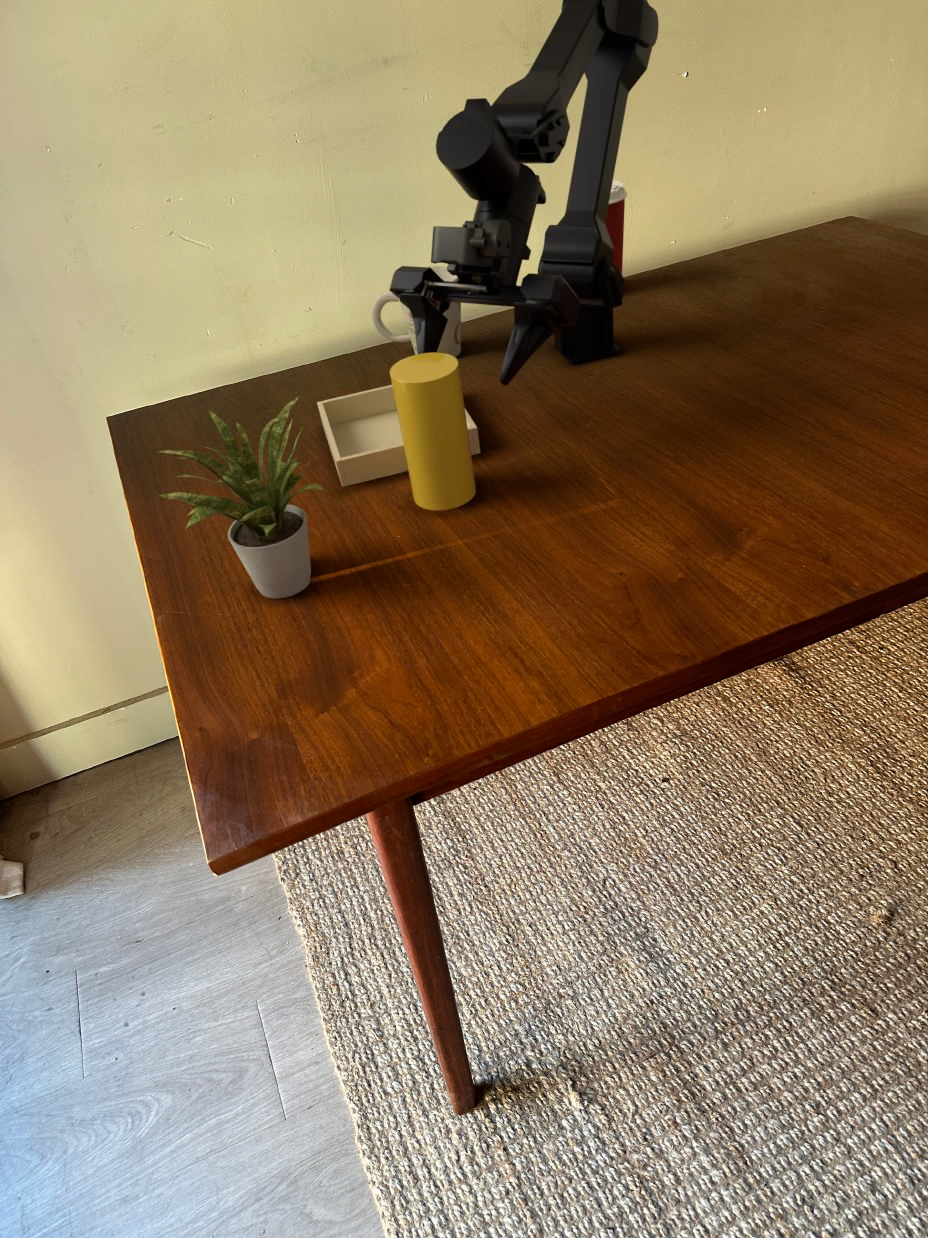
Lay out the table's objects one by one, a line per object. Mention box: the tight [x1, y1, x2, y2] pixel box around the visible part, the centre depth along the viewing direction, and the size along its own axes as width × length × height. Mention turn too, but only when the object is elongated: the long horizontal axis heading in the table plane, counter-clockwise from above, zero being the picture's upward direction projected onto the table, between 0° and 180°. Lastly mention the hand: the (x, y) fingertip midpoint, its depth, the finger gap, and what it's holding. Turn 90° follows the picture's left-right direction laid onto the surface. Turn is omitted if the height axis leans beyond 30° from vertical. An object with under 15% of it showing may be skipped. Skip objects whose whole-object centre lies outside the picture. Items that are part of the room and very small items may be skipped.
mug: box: [370, 265, 462, 358], centre depth 119 cm, size 8×13×10 cm, turn 78°
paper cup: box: [605, 179, 628, 275], centre depth 126 cm, size 8×8×14 cm
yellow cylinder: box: [389, 353, 477, 511], centre depth 89 cm, size 6×6×14 cm
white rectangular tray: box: [316, 384, 481, 488], centre depth 102 cm, size 15×15×4 cm
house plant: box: [154, 396, 326, 599], centre depth 81 cm, size 14×14×16 cm
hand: (462, 378), depth 91 cm, fingers open, 9 cm apart
